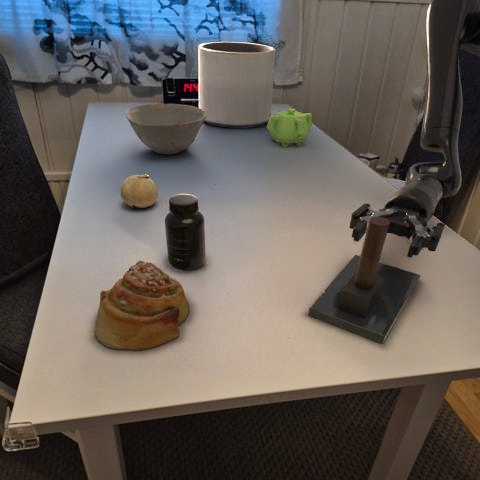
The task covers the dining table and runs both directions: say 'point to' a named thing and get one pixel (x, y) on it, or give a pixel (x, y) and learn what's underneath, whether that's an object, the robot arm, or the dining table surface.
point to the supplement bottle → (185, 233)
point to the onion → (139, 191)
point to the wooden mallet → (366, 272)
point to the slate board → (382, 312)
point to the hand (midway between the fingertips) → (382, 243)
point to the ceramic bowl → (166, 126)
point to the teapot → (289, 126)
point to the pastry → (141, 309)
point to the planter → (236, 83)
